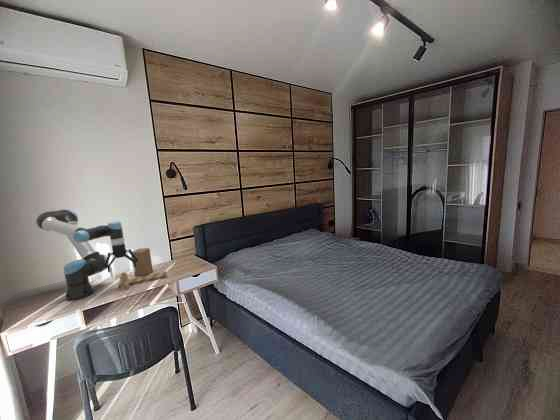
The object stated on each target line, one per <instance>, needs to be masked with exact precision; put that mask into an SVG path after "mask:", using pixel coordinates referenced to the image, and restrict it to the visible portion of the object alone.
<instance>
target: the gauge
mask: <svg viewBox="0 0 560 420" xmlns="http://www.w3.org/2000/svg"><path fill="white" fill-rule="evenodd" d="M128 279H129V277H128V273H127V272H126V273H125V272H122V273H121V274H120V275H119V283H120V284H121V288H120V289H121V291H127V290H129V288H130V286H129V282H128Z"/></svg>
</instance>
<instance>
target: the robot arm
mask: <svg viewBox="0 0 560 420" xmlns="http://www.w3.org/2000/svg"><path fill="white" fill-rule="evenodd" d="M78 221H79V218H78V214H77V212H75V211H74V210H72V209H71V208H70V209H69V208H68V209H65V208H64V209H59V210H52V211H45V212H42V213H41V214H39V215H38V216H37V218H36V220H35V222H36V223H35V224H36V225H37V227H38V228H39V229H41V230H43V231H47V232H55V233H59V234H61V235H65V236H66V237H67V239H68V241H69V242H70V244H71V245H72V246H73V248H74V249H75V250H76V252H77V253H78V255H79V256H80V259H77V260H76V259H75V260H73V261H70V262H68V263H66V264H65V265H63V273H64V277H65V283H66V292H65V300H66V301H68V302H72V301H78V300H81V299H85V298H87V297H90V296H91V295H94V293H95V289H94V287H93V286H92V284H91V282H90V281H89V277H92V276H93V275H96V274H99V273H102V272H103V271H106V270H107V272H108V273H109V274H110V277H111V278H113V277H114V274H113V268H112V266H111V265H112V264H113V263H114V261H115V260H116V259H120V258H123V257H125V258H126V259H128V260H129V261H131V263H132V262H133V263H132V264H131V265H132V269H133V273H134V272H135V267H136V262H137V261H138V258H137V257H136V256H135V255H134V254H133V253H132V249H131V248H128V249H126V244H125V237H124V233H123V227H122V223H121V221H111V222H108V223H107V224H106V225H97V226H95V227H90V228H84V227H81V226H78ZM104 237H109V238H110V239H109V240H110V245H112V246H111V248H112V252H108V253H107V255H106V254H103V253H102V254H101V253H100V252H99V251H97V250H95V249H94V247H92V245H91V244H90V242H89V241H92V240H96V239H101V238H104ZM127 253H128V254H130V255H131V256H132V257H133V258H134V259H135V260H134V259H132V257H131V256H129V255H128V254H127ZM111 256H113V258H112V260H111V261H109V260H110V258H111Z"/></svg>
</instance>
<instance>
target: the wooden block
mask: <svg viewBox="0 0 560 420" xmlns="http://www.w3.org/2000/svg"><path fill="white" fill-rule="evenodd" d="M131 251H132V250H131ZM150 251H151V250H150V248H137V249H134V250H133V251H132V253H133V254H134V255H135V256H136V257H137V258H138V261H137V262H136V267H135V272H134V271H133V275H134V277H142V276H147V275H150V274H152V272H153V269H154V268H153V264H152V262H153V261H152V256H151V252H150ZM130 257H131V258H132V259H134V258H133V257H132V256H130ZM134 260H135V259H134ZM131 263H133V262H132V261H131Z"/></svg>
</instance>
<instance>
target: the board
mask: <svg viewBox="0 0 560 420" xmlns="http://www.w3.org/2000/svg"><path fill="white" fill-rule="evenodd" d="M167 277H168V276H167V272H166V271H162V272H158V273H153V274H152V273H151V274H148V275H146V276H136V277H134V278H128V282H129V287H130V286H134V285H139V284H143V283H148V282H153V281H157V280H162V279H167ZM118 288H119V289H121V284H120V282H118Z"/></svg>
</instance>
